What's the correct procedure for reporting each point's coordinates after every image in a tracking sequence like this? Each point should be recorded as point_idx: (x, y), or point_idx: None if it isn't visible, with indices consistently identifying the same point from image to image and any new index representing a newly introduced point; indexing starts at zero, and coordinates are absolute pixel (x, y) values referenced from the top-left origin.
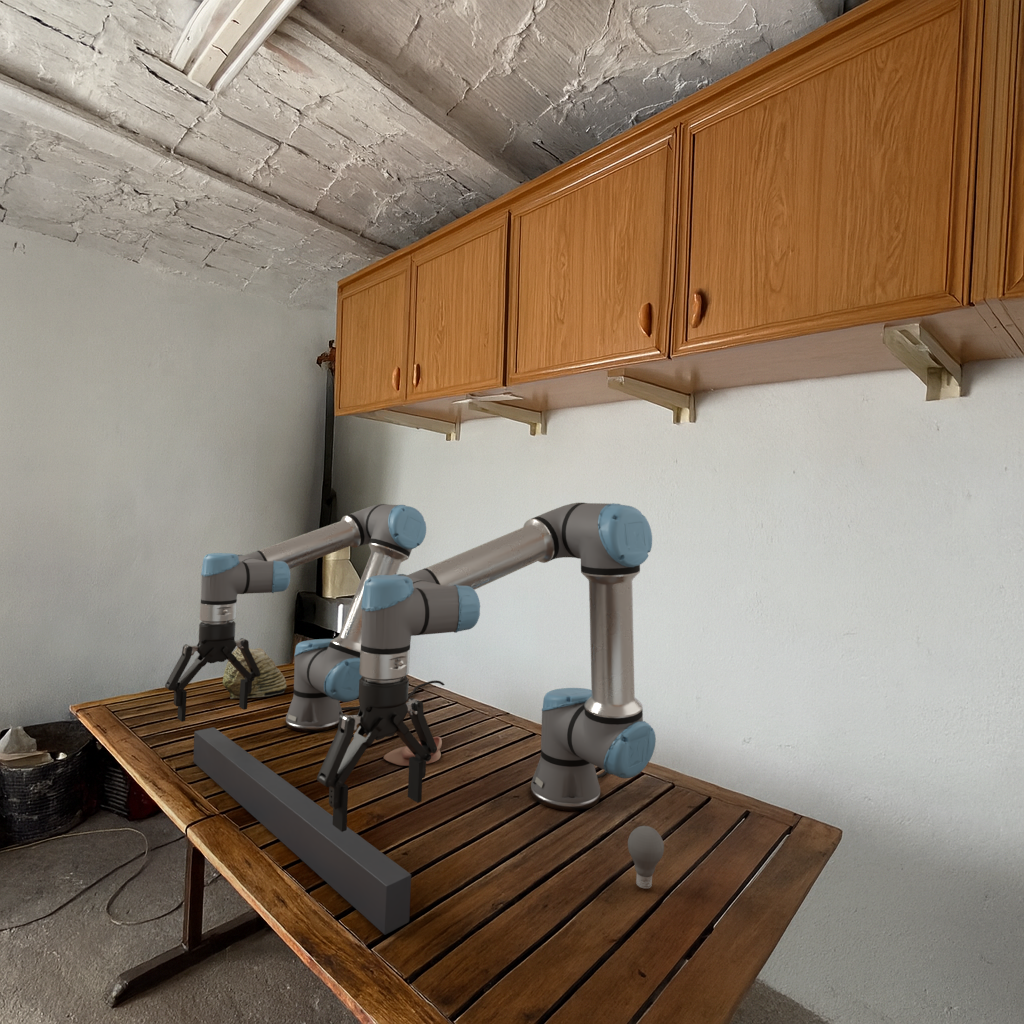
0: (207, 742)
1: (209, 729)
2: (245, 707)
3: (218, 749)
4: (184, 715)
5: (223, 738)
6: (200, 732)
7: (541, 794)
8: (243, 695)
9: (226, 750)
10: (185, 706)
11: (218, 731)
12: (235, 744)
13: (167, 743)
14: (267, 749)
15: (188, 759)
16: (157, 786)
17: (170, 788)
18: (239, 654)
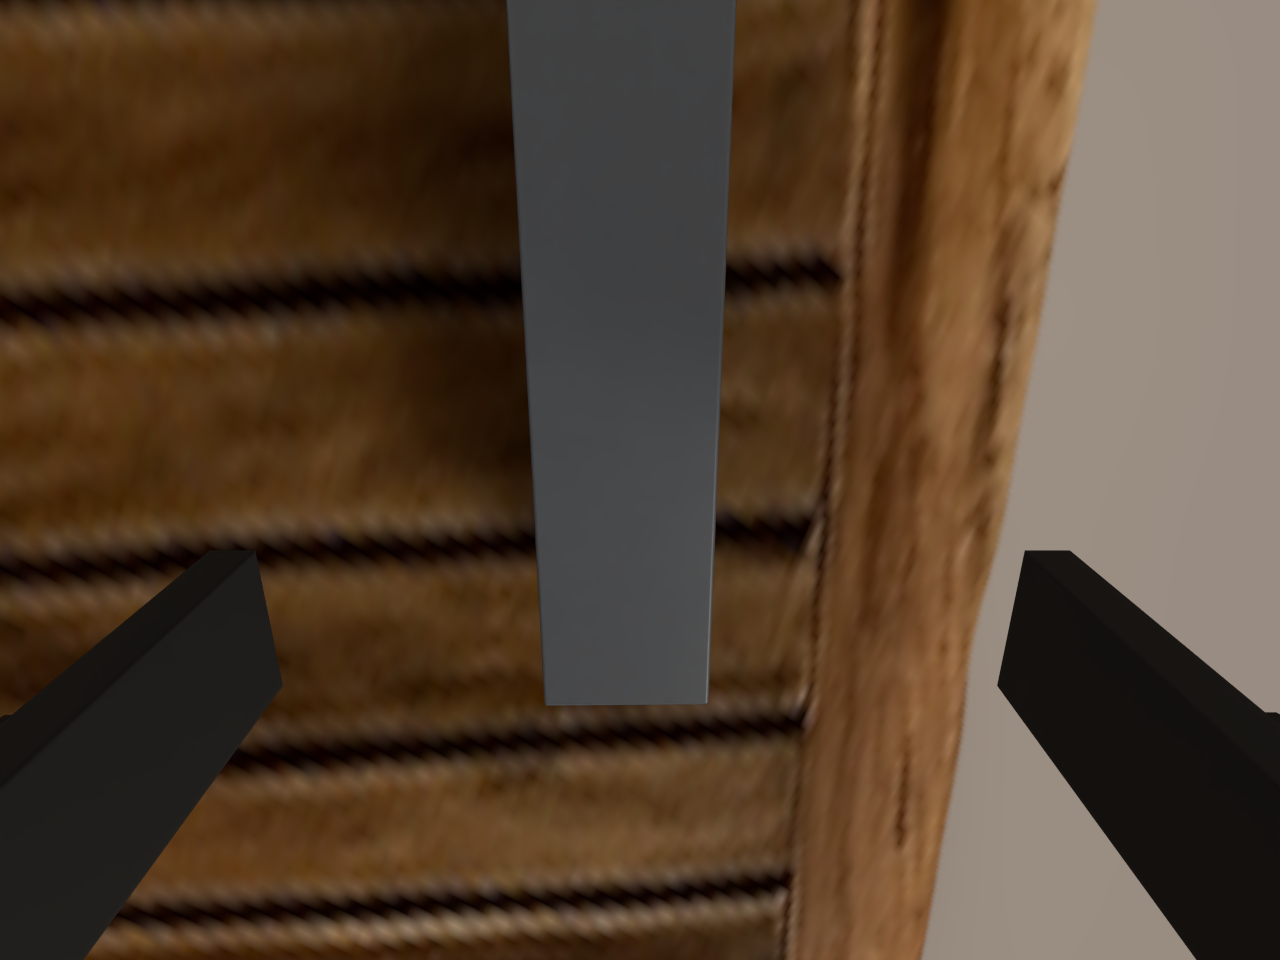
0: (719, 405)
1: (594, 675)
2: (219, 564)
3: (717, 135)
4: (1080, 586)
5: (571, 399)
6: (680, 652)
7: None
8: (144, 701)
9: (666, 41)
10: (1154, 665)
11: (548, 591)
12: (529, 156)
13: (700, 889)
14: (216, 490)
15: None
16: (998, 356)
17: (957, 271)
18: None
